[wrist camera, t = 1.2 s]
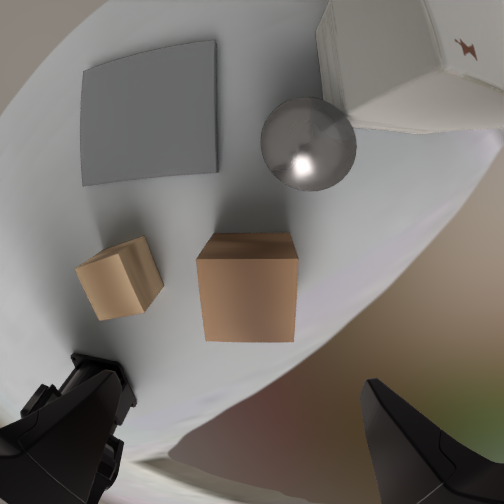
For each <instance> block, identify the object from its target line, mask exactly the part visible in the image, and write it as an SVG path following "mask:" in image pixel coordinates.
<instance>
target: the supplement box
mask: <svg viewBox="0 0 504 504" xmlns="http://www.w3.org/2000/svg"><path fill="white" fill-rule="evenodd" d="M316 42H317V50H318V57H319V65H320V73H321V82H322V91H323V100H324V101H326V102H329V103H330V104H332V105H334V106H335V107H337V108H338V109H339V110H340V111H341V112H342V113H343V114H344V115H345V116H346V117H347V119H348V120H349V122H350V123H351V125H352V127H355V128H367V129H378V130H387V131H396V132H403V133H411V134H419V135H420V134H427V133H436V132H446V131H457V130H471V129H496V128H504V0H329V2H328V4H327V7H326V9H325V12H324V14H323V16H322V18H321V21H320V23H319V25H318V28H317V30H316Z"/></svg>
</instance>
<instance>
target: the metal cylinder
mask: <svg viewBox="0 0 504 504" xmlns="http://www.w3.org/2000/svg"><path fill="white" fill-rule="evenodd" d="M356 148H357V145H356V137H355V133H354V130H353V127H352V125H351V123H350V122H349V120H348V119H347V117H346V116H345V115H344V114H343V113H342V112H341V111H340V110H339V109H338V108H337V107H335V106H334V105H332V104H330V103H329V102H326V101H324V100H321V99H317V98H311V97H301V98H295V99H292V100H289V101H287V102H285V103H283V104H281V105H280V106H278V107H277V108H276V109H275V110H274V111H273V112H272V113H271V114H270V115H269V117H268V118H267V120H266V122H265V124H264V127H263V130H262V135H261V149H262V154H263V157H264V160H265V162H266V164H267V166H268V167H269V169H270V170H271V172H272V173H273V174H274V175H275V176H276V177H277V178H278V179H279V180H280V181H282V182H283V183H285V184H286V185H288V186H290V187H292V188H295V189H298V190H303V191H319V190H324V189H327V188H330V187H332V186H334V185H335V184H337V183H338V182H340V181H341V180H342V179H343V178H344V177H345V176H346V175H347V174H348V172H349V171H350V169H351V167H352V165H353V163H354V160H355V156H356Z"/></svg>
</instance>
